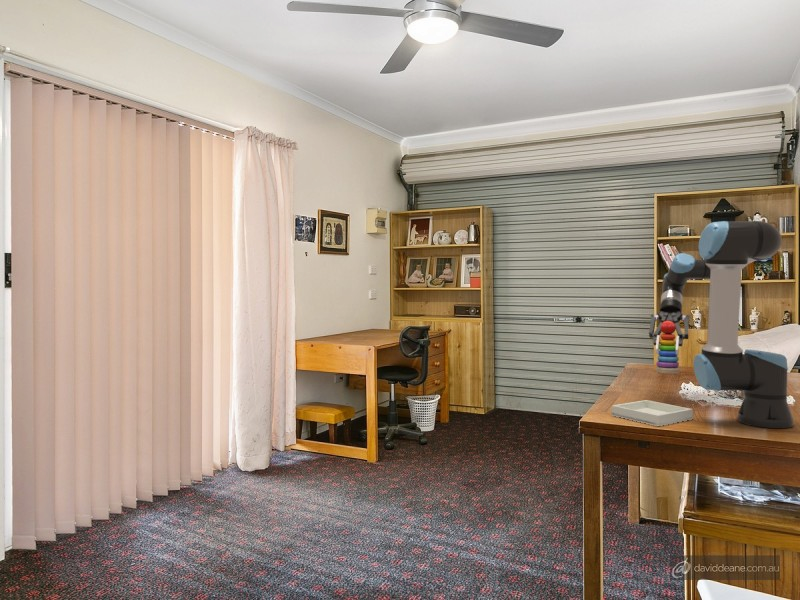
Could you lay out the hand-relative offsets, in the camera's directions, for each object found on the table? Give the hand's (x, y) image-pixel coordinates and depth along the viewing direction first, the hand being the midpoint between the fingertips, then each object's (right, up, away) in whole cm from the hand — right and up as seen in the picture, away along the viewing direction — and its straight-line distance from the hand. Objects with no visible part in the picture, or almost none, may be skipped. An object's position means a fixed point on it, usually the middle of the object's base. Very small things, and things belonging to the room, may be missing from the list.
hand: (666, 351), depth 210 cm
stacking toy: (+2, -8, +3) cm, 9 cm away
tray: (-11, -21, -13) cm, 27 cm away
